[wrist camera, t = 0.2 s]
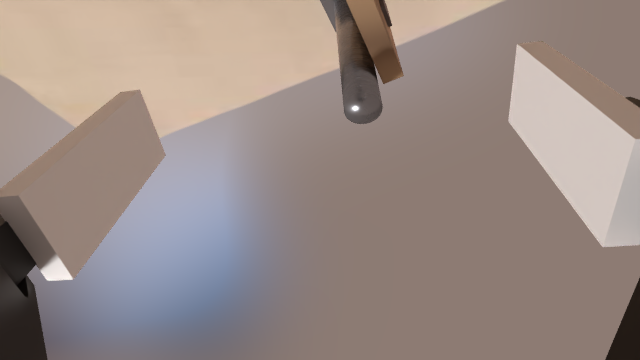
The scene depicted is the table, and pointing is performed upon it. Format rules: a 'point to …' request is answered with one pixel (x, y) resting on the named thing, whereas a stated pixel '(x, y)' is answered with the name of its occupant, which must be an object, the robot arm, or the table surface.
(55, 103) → the table surface
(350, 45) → the gate frame
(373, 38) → the gate
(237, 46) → the table surface
